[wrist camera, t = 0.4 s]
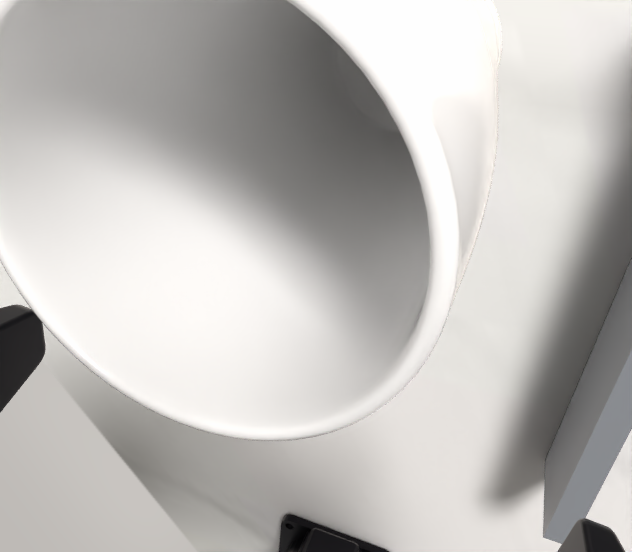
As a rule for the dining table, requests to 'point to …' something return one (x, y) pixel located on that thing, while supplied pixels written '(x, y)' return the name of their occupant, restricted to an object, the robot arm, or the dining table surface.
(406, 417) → the dining table surface
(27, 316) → the robot arm
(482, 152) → the drinking glass
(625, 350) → the grey u-shaped fence
